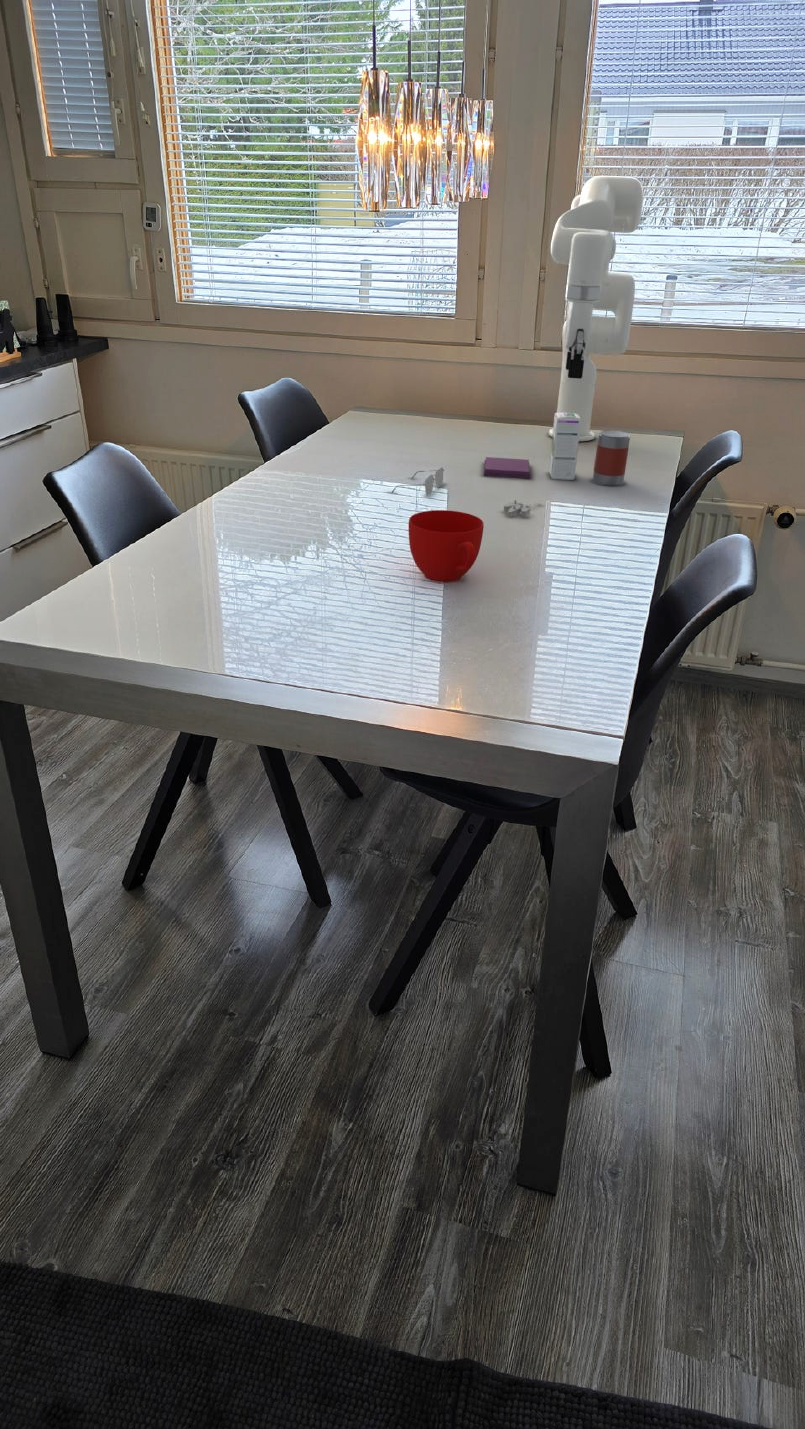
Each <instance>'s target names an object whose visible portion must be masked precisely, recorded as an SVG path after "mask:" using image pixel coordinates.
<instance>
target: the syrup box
mask: <svg viewBox="0 0 805 1429" xmlns="http://www.w3.org/2000/svg"><path fill="white" fill-rule="evenodd" d="M580 422H581V418H580V417H579V415H578V414H576V413H557V412H554V418H553V426H552V429H553V436H552V437H551V438H552V439H551V449H550V457H549V468H548V469H549V470H548V473H549V475H550V478H551V480H561V481H562V480H566V481H574V480H575V478H576V469H577V463H578V462H577V461H578V460H577V459H578V453H579V452H578V450H579V443H580V441H579V432H580Z"/></svg>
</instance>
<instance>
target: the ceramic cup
mask: <svg viewBox="0 0 805 1429" xmlns="http://www.w3.org/2000/svg"><path fill="white" fill-rule="evenodd" d="M484 526H485V525H484V521H483V520H482V519H481V518H480V517H478V516H476V515H473V514H471V513H467V512H462V511H458V510H448V509H447V510H446V509H439V510H438V509H437V510H436V509H434V510H425V511H420V512H417V513H414V514H412V515H411V516H410V517H409V519H408V544H409V550H410V554H411V556H412V559H413V562H414V564H415V565H416V567H417V568H418V570H419V571H420V573H422V575H423V576H424V578H425V579H427V580H429V581H432V582H435V583H455V582H458V581H459V580H461V579H462V577H464V576H465V575H466V574H467V573H468V572H469V571H470V570H471V569H472V567H473V565H474V564H475V562H476V560H477V558H478V556H479V553H480V550H481V545H482V541H483V535H484V528H485V527H484Z"/></svg>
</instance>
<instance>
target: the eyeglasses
mask: <svg viewBox="0 0 805 1429" xmlns="http://www.w3.org/2000/svg"><path fill="white" fill-rule="evenodd" d="M422 472H423V473H424V472H425V470H419V471H416V472H415V473H414V474H413V476H412V477H411V479H412V480H413V479H414V477H415V476H416V474H418V473H422ZM430 472H435V473H434V474H430V475H429V476H428V477H427V478H426V479H425V480H424V483H422V484H421V483H420V484H419V483H418V484H417V483H416V486H424V490H425V495H426V496H430V495H431V493H433V488H434V484H435V486H436V487H437V488H440V487H441V486H442V485H443V482H444V472H445V469H444V467H440V468H438V469H434V470H430ZM410 486H414V487H415V484H403V485H401V484H400V485H396V486H395V487H394V488H393V489H392V491H391V493H394V492H395V490H396V489H397V487H398V488H399V487H410Z"/></svg>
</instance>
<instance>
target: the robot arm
mask: <svg viewBox="0 0 805 1429" xmlns="http://www.w3.org/2000/svg"><path fill="white" fill-rule="evenodd" d="M643 206H644V188H643V184H642V183H641V181H640V180H639V179H638V178H637V177H633V176H618V175H596V176H593V177H591V178H589V179H588V180H587V181H586V182H585V184H584V185H583V187H582V190H581V193H580V194H578V195H577V196H575V197H574V198H573V200H572V202H571V206H570V209H569V210H567V211H565V212H564V213H563V214H561V215H560V217H558V219H557V221H556V223H555V224H554V225H555V226H554V228H553V233H552V237H551V243H550V255H551V258H552V260H553V261H554V263H556V264H558V265H566V266H567V265H568V269H567V270H568V271H567V280H566V287H565V288H566V290H565V299H564V300H565V301H567V302H568V307H567V308H568V309H567V314H566V320H565V321H564V323H563V325H562V332H561V333H562V339H561V340H562V359H561V360H562V361H561V373H560V382H559V388H558V389H559V390H558V400H557V407H556V413H576V414H578V415H579V417H580V418H581V422H580V432H579V442H589V441H593V440H594V439H595V435H596V434H595V433H594V431H591V422H592V414H593V408H594V407H593V406H594V399H595V391H596V383H597V377H598V376H597V375H598V373H597V368H596V365H595V363H594V361H593V360H592V359H591V356H590V355H600V356H621V355H624V353H626V351H627V348H628V346H629V341H630V335H631V334H630V333H631V327H632V319H633V312H634V305H635V304H634V303H635V296H636V281H635V279H634V276H633V275H632V274H630V272H629V273H628V272H626V271H613V270H610V268H609V266H610V263H611V261H612V260H613V259H614V257H615V254H616V250H617V240H616V238H615V236H614V234H613V233H618V234H631V233H633V232H635V231H636V230H637V229H638V227H639V225H640V223H641V219H642V214H643ZM594 311H605V312H612V313H613V314H614V316H607V315H606V316H605V315H595V314H594V315H593V312H594ZM548 435H549V437H551V438H552V436H553V428H550V429H549V431H548Z"/></svg>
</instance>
